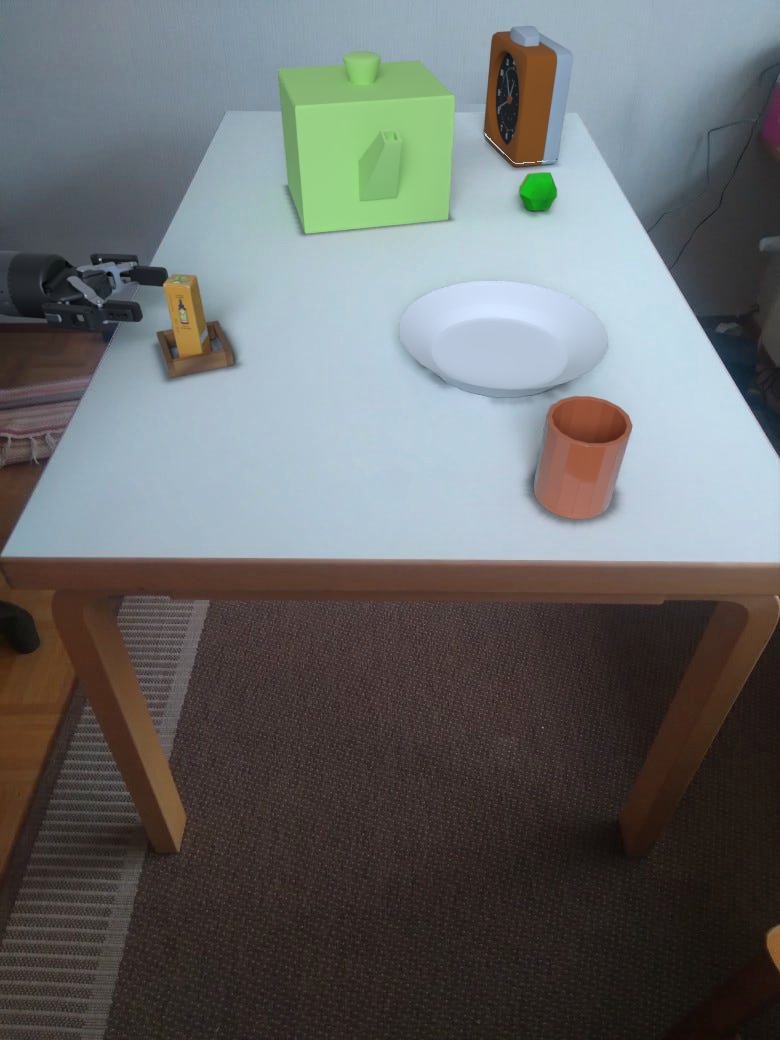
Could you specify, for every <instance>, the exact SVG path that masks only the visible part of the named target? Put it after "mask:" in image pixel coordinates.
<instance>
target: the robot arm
mask: <svg viewBox="0 0 780 1040" xmlns="http://www.w3.org/2000/svg"><path fill="white" fill-rule="evenodd" d="M89 258H90V262H91V263H90V264H86V265H81V266H74V265H72V264H71V263H70V262H69V261H68V260H67V259H66V258H65V257H64V256H62V255H61V254H58V253H47V252H35V251H34V252H32V251H16V250H0V316H7V317H13V318H25V319H26V318H29V319H42V320H46V322H47V325H48V327H49V328H56V329H66V330H73V331H82V332H96V331H98V330H99V326H98V325H99V324H101V325H105V324H109V323H110V322H126V323H129V322H130V323H141V321H142V320H143V318H144V314H143V310H142V307H141V305H140V303H139V302H138V301H133V300H132V301H130V300H119V299H118V300H116V299H107V298H109V297H110V296H112V295H116V294H120V293H123V292H124V290H125V288H128V287H132V286H137V285H139V286H143V287H144V286H145V287H146V286H147V287H160V288H164V287H163V284H164V283H165V281H166V280H167V279H168V278H169V277H170V275H169V272H168V270H167V268H165V267H164V266H151V265H150V266H149V265H140V262H139V257H138V255H137V254H125V253H123V254H121V253H97V252H95V253H92V254H90V255H89ZM110 277H111V278H112V280H113V284H111V280H110ZM122 278H124V279H122ZM106 299H107V300H106ZM78 316H82V318H83V320H80V319H79V318H78Z"/></svg>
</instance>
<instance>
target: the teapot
mask: <svg viewBox="0 0 780 1040" xmlns="http://www.w3.org/2000/svg"><path fill="white" fill-rule="evenodd" d="M381 60H382V56H381V55H380V54H378V53H376V52H373V51H367V50H366V51H365V50H360V51H359V50H358V51H350V52H348V53H346V54H344V55H343V56H342V61H343V64H336V65H335V64H334V65H318V66H303V67H287V68H277V81H278V90H279V91H278V92H279V102H280V103H279V104H280V113H281V124H282V133H283V144H284V145H283V146H284V155H285V165H286V177H287V186H288V190H289V192H290V195H291V198H292V201H293V203H294V207H295V209H296V212H297V214H298V217H299V220H300V223H301V226H302V229H303V231H304V234H306V235H307V234H317V233H327V232H337V231H338V232H339V231H349V230H358V229H360V230H361V229H369V228H380V227H389V226H398V225H400V226H401V225H409V224H420V223H430V222H440V221H448V220H449V215H450V213H449V212H450V198H451V197H450V196H451V181H452V163H453V162H452V160H453V145H454V144H453V143H454V128H455V110H456V97H455V96H456V95H455V94H453V92H452V91H450V90H449V89H448V88H447V87H446V86H445V85H444V84H443V82H442V81H440V80H439V78H437V77H436V76H435V74H434V73H433V72H431V71H430V70H429V68H427V66H425V65H424V64H423V63H422V62H421V61H420V60H403V61H402V60H401V61H386V62H385V61H384V62H381Z"/></svg>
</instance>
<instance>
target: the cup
mask: <svg viewBox="0 0 780 1040" xmlns="http://www.w3.org/2000/svg"><path fill="white" fill-rule="evenodd" d="M632 429H633V423H632V421H631V418H630V415H629V414H628V413H627V412H625V410H624V409H623V408H621V407H620V406H619V405H617V404H615V403H614V402H611V401H609V400H607V399H603V398H599V397H595V396H590V395H584V396H583V395H574V396H569V397H565V398H561V399H559V400H557V401H556V402H554V403H553V404H551V405H550V406H549V408H548V411H547V413H546V416H545V421H544V427H543V432H542V437H541V443H540V448H539V454H538V459H537V462H536V463H537V465H536V470H535V474H534V481H533V493H534V496H535V498H536V500H537V502H538V503H539V504H540V505H541V506H542V507H543V508H544V509H545V510H547V511H549V512H550V513H553V514H554V515H557V516H560V517H562V518H565V519H566V518H567V519H573V520H574V519H575V520H583V519H584V520H586V519H591V518H594V517H597V516H599V515H601V514H602V513H604V512H605V511H606V510H607V509H608V507H609V506H610V505H611V504H610V503H611V501H612V497H613V495H614V491H615V487H616V484H617V480H618V477H619V474H620V471H621V467H622V464H623V460H624V457H625V453H626V450H627V447H628V443H629V440H630V437H631V434H632Z"/></svg>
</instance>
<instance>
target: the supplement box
mask: <svg viewBox="0 0 780 1040" xmlns="http://www.w3.org/2000/svg"><path fill="white" fill-rule="evenodd" d="M198 280H199V279H198V277H197V275H196V274H177V273H176V274H175V273H172V274H170V275H169V278H168V279H167V280H166V281H165V283H164V284H163V287H162V288H163V291H164V296H165V299H166V303H167V308H168V313H169V317H170V322H171V326H172V329H173V331H174V335H175V340H176V345H177V346H176V349H177V354H178V358H182V357H187V356H192V355H197V354H202V353H207V352H212V346H211V341H210V340H211V339H209V335H208V330H207V325H206V323H207V321H206V316H205V310H204V307H203V302H202V295H201V290H200V285H199V281H198Z"/></svg>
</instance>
